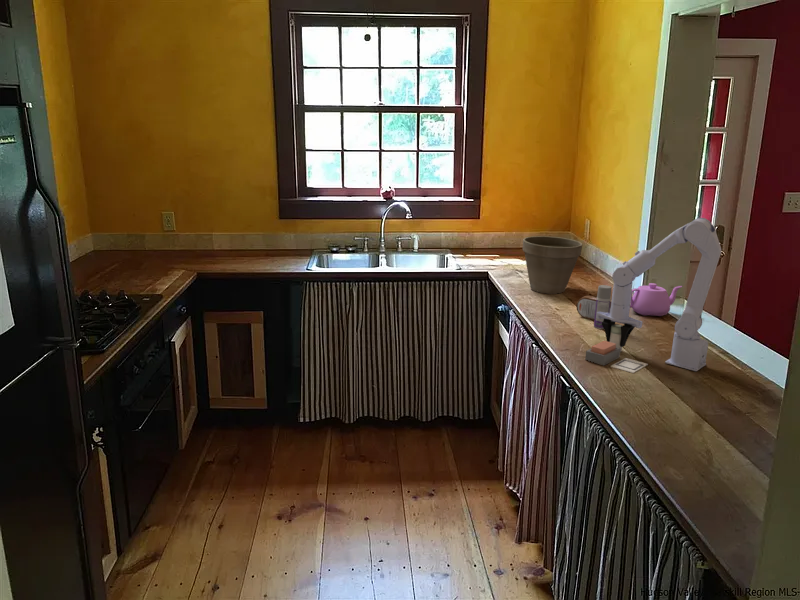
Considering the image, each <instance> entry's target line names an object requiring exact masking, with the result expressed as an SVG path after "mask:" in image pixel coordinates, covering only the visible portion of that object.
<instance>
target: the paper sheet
mask: <svg viewBox="0 0 800 600" xmlns="http://www.w3.org/2000/svg"><path fill="white" fill-rule="evenodd" d="M648 365H649V363H646V362H642V361H640V360H634V359H632V358H629V357H628V358H627V357H625V358H623V359H621V360H619V361H617V362H616V363H613V364H612V365H610V368H613V369H618V370H620V371H624V372H627V373H631V374H634V373H637V372H638V371H640V370H642V369H643V368H645V367H647V366H648Z"/></svg>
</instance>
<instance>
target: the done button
mask: <svg viewBox="0 0 800 600" xmlns="http://www.w3.org/2000/svg"><path fill="white" fill-rule="evenodd" d="M590 349H591V352H595V353H598V354H602V355H605V354H607V353H609V352H611V351H613V350H615V349H616V344H615V343H611V342H608V341H607V340H603V341H600V342H598V343H596V344H593V345H592V346H591V348H590Z"/></svg>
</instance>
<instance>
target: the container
mask: <svg viewBox="0 0 800 600" xmlns="http://www.w3.org/2000/svg"><path fill="white" fill-rule="evenodd" d="M612 289H613V287H612V286H611V285H606V284H601V285H598V288H597V295H596V297H597V301H596V310H595V319H594V320H593V328H595V329H596V330H597V329H599V330H604V328H603V326H602V322H603V320H604V319H598V318H596V314H597V312H599V311H600V312H606V313H609V309H610V301H612Z"/></svg>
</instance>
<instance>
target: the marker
mask: <svg viewBox="0 0 800 600" xmlns="http://www.w3.org/2000/svg"><path fill="white" fill-rule="evenodd" d="M621 326H623V324H615V325H612V326H611V334H610V342H611V343H615V344H616V347H617V348H621V349H620V353H621V352H623V347H621V346H620V342H621Z"/></svg>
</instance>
